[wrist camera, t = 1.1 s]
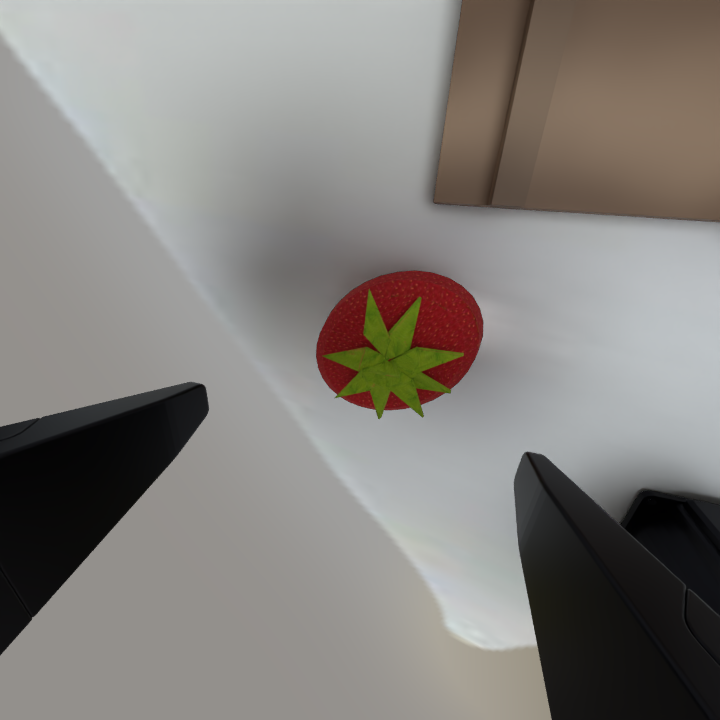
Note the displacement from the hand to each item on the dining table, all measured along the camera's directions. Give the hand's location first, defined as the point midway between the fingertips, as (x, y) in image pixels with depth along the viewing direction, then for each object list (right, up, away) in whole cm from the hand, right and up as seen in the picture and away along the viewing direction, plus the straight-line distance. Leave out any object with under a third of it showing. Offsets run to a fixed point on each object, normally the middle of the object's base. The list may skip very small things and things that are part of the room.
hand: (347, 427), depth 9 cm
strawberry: (+3, +5, +10) cm, 12 cm away
